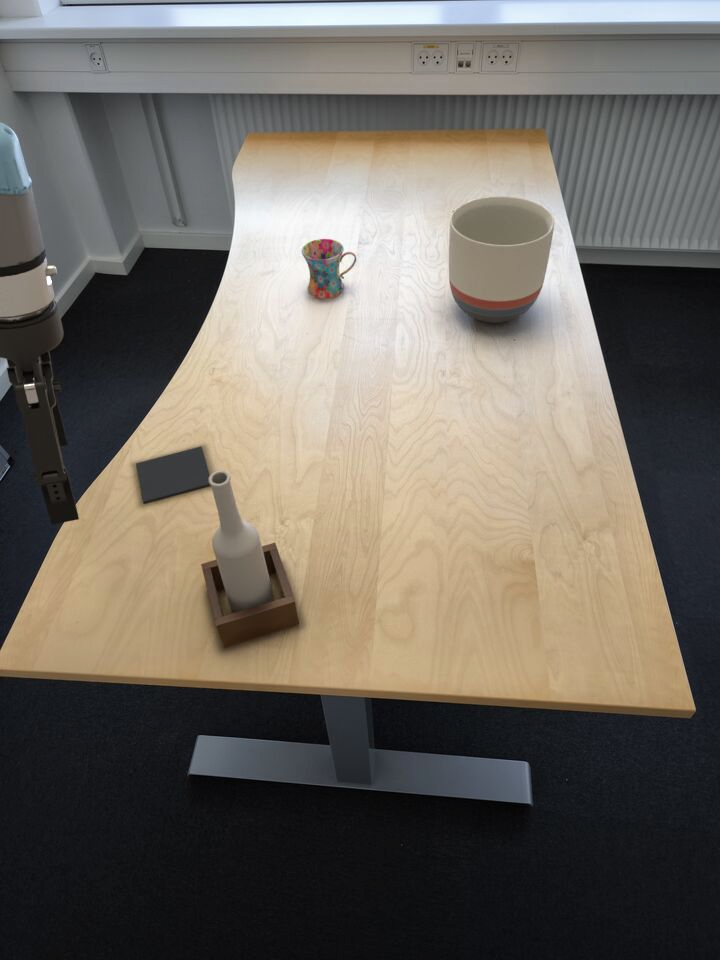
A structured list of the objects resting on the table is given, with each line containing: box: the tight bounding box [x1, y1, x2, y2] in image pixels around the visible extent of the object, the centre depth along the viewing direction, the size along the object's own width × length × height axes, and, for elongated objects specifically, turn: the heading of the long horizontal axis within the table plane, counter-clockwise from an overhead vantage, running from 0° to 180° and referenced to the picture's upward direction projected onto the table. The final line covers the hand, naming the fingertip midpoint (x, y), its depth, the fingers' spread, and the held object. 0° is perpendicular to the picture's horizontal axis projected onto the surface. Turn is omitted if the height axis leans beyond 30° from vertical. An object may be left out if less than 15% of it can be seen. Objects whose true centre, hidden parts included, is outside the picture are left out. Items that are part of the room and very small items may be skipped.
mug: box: [301, 238, 357, 300], centre depth 165 cm, size 12×9×11 cm
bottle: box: [209, 469, 276, 614], centre depth 100 cm, size 7×7×28 cm
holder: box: [200, 542, 300, 649], centre depth 108 cm, size 11×11×6 cm
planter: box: [448, 195, 555, 324], centre depth 152 cm, size 20×20×21 cm
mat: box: [135, 446, 211, 504], centre depth 130 cm, size 12×10×1 cm
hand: (60, 480), depth 81 cm, fingers open, 13 cm apart
